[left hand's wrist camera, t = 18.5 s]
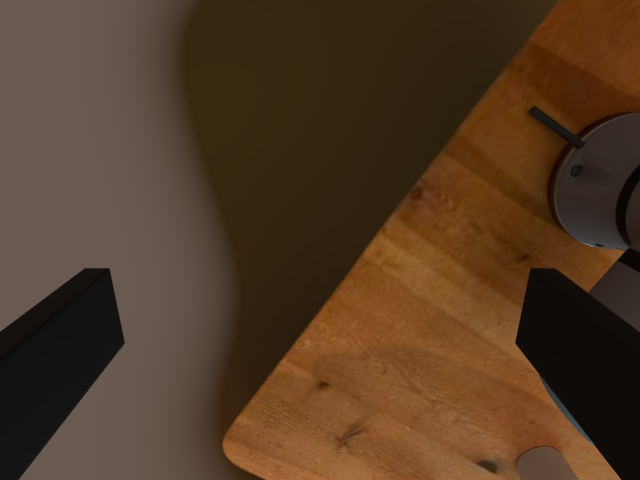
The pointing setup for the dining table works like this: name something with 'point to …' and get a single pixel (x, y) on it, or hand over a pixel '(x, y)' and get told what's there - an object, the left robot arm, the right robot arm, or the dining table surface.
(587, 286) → the dining table surface
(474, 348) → the dining table surface
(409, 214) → the dining table surface
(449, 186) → the dining table surface
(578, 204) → the left robot arm
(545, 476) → the gray cylinder
